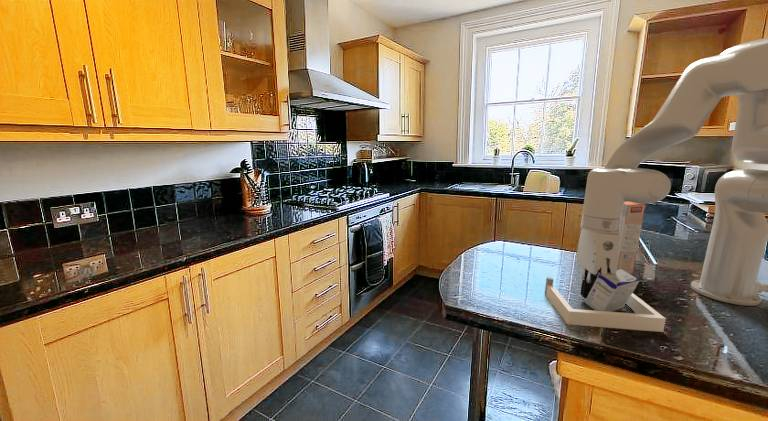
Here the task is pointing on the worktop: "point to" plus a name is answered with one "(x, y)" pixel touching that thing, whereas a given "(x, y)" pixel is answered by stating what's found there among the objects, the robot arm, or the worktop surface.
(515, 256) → the worktop surface
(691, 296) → the worktop surface
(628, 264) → the cracker box
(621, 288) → the box
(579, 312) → the dock
